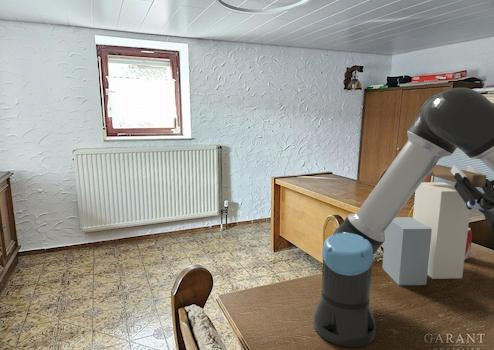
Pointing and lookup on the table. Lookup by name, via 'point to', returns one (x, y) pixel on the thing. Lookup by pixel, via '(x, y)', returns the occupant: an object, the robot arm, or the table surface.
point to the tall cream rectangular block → (443, 227)
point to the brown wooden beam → (446, 174)
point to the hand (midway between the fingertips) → (460, 167)
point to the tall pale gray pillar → (407, 251)
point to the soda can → (468, 244)
